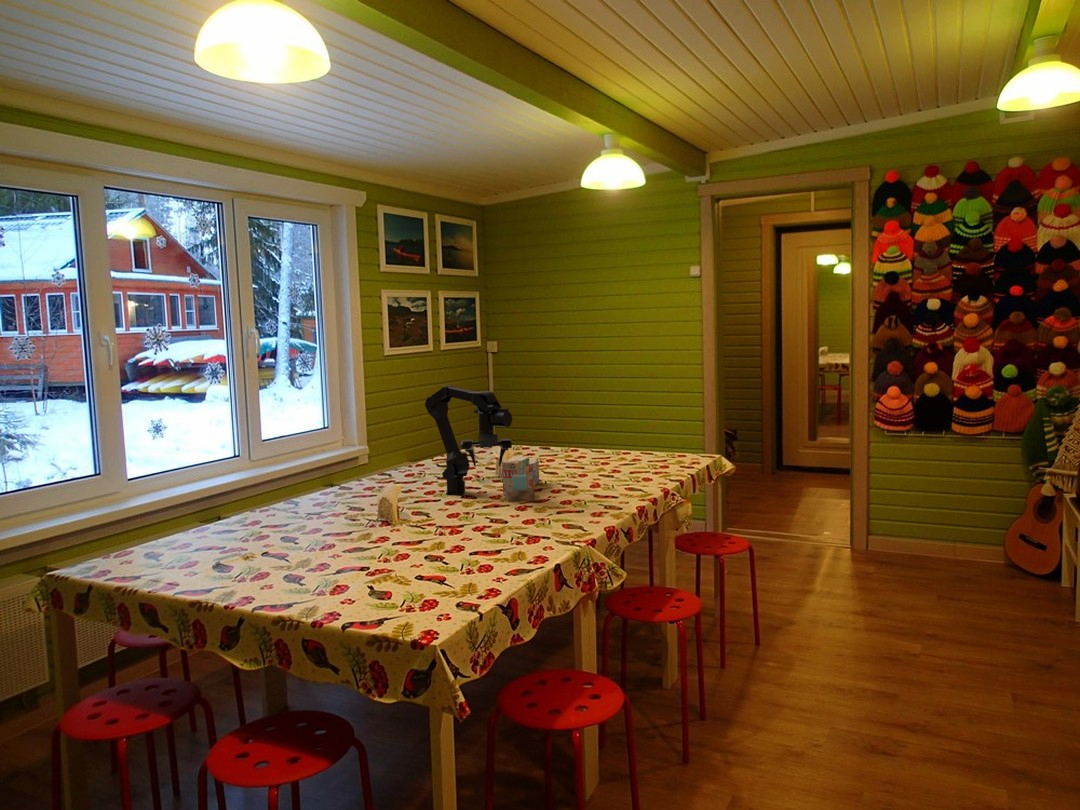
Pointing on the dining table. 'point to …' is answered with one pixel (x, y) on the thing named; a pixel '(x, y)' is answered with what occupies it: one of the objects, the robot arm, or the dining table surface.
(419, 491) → the dining table surface
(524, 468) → the stack of blocks
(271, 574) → the dining table surface
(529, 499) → the walnut block
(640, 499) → the dining table surface
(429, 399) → the robot arm
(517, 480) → the teal cube
